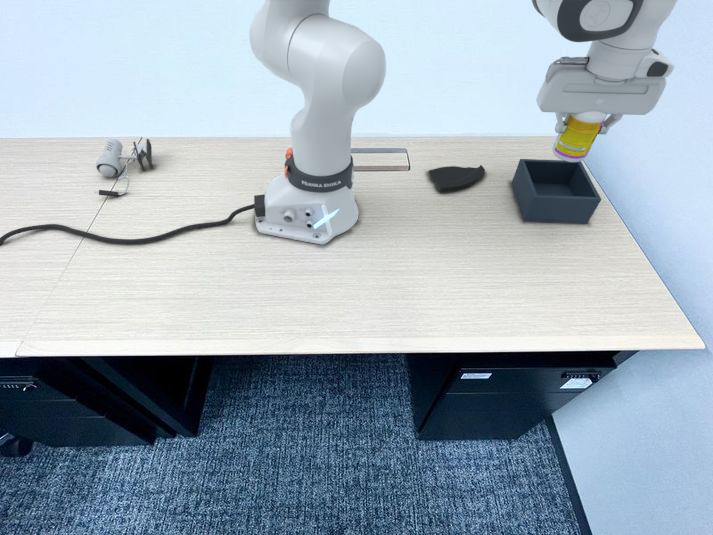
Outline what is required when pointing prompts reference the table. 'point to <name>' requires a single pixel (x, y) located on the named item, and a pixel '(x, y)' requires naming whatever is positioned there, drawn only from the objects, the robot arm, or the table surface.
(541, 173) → the tub
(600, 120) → the supplement bottle
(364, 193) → the table surface
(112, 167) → the clip-on lamp
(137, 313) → the table surface
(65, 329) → the table surface
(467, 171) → the curved wedge
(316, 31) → the robot arm
